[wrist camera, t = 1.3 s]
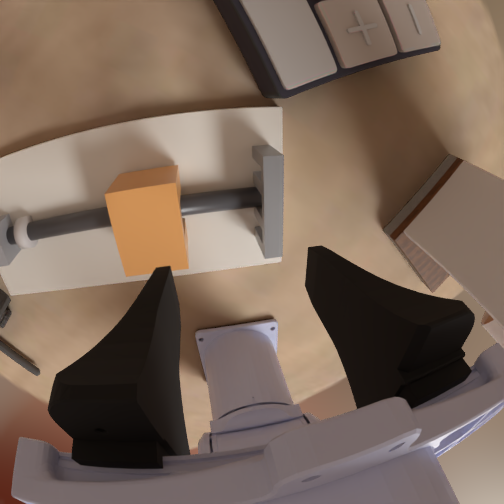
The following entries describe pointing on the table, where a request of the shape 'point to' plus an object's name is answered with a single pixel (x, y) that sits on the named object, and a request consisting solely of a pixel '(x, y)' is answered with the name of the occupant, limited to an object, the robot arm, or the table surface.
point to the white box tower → (458, 235)
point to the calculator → (324, 38)
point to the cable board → (135, 159)
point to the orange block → (148, 220)
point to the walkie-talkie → (0, 319)
